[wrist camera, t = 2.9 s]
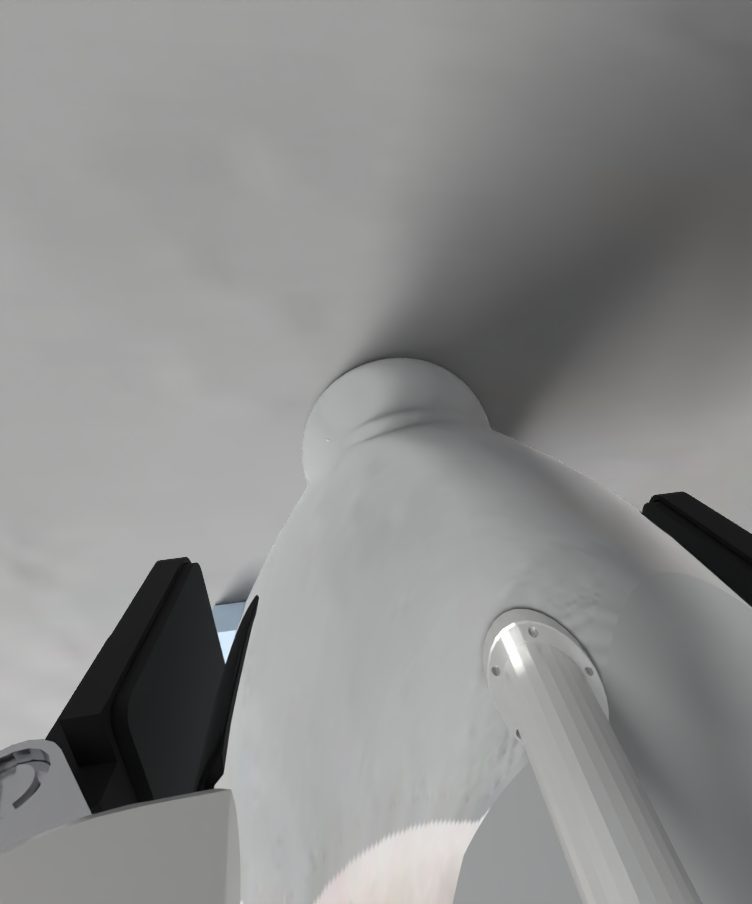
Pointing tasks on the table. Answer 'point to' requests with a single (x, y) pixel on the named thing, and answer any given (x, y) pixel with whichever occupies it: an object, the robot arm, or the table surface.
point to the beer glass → (477, 678)
